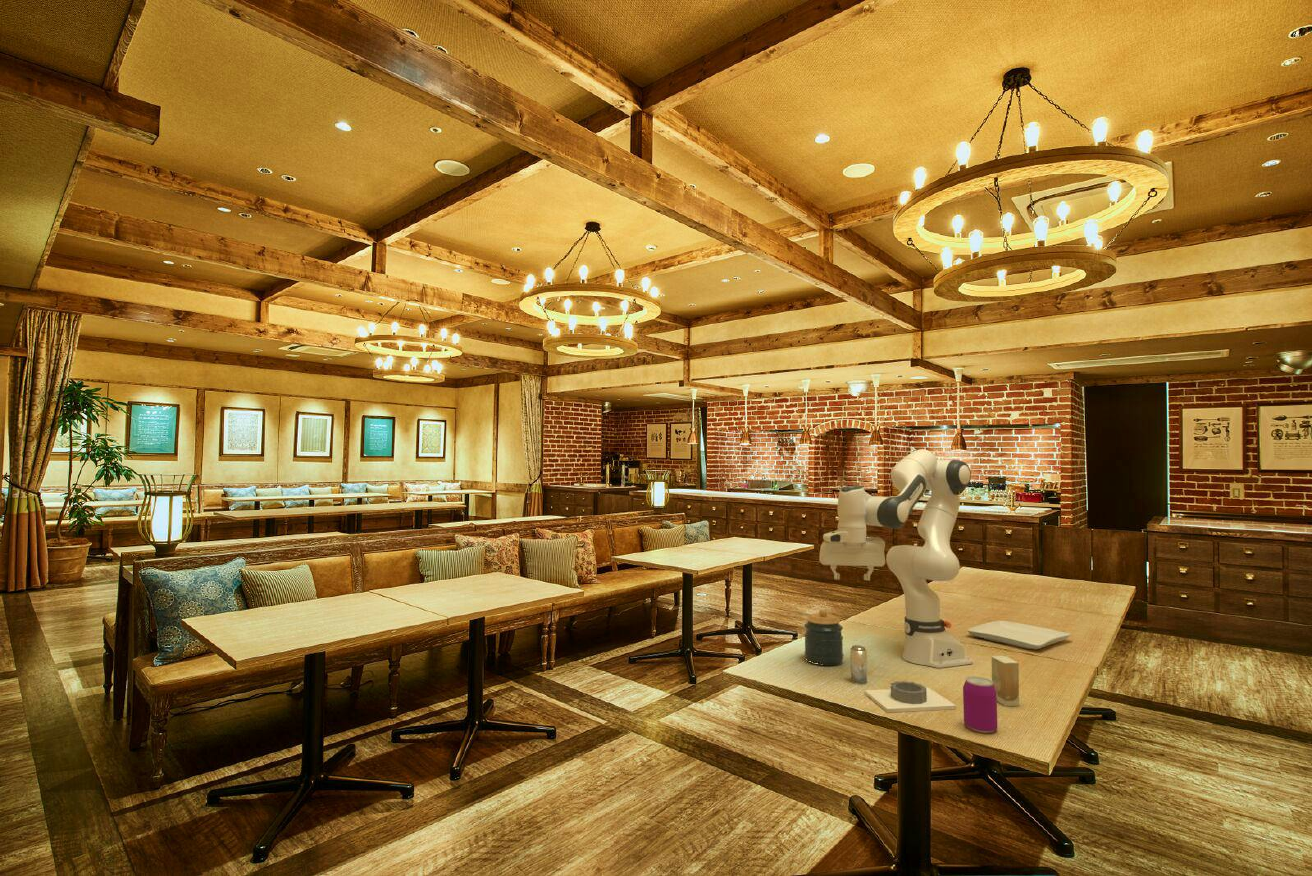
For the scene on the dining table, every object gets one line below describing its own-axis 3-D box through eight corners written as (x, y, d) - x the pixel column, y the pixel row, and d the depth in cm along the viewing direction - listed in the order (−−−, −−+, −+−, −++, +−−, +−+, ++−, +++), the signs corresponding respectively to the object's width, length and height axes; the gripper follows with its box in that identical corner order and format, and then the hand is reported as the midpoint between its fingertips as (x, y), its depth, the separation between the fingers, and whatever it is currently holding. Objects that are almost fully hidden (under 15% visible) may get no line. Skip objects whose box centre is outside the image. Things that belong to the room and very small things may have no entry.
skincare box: (991, 698, 176) (990, 655, 177) (1005, 697, 177) (1004, 655, 177) (1005, 707, 170) (1004, 662, 170) (1020, 706, 170) (1019, 662, 171)
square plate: (1072, 643, 233) (1072, 632, 233) (1039, 655, 217) (1039, 644, 218) (1000, 627, 255) (999, 618, 255) (964, 638, 240) (964, 628, 240)
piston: (862, 678, 193) (862, 644, 193) (869, 684, 188) (869, 649, 189) (848, 679, 192) (847, 645, 193) (855, 684, 188) (854, 649, 188)
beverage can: (993, 737, 151) (992, 688, 151) (960, 728, 156) (958, 681, 157) (1001, 727, 157) (999, 680, 157) (968, 719, 162) (967, 673, 162)
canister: (800, 663, 208) (799, 611, 209) (809, 653, 220) (808, 603, 220) (839, 669, 202) (838, 615, 203) (846, 658, 213) (845, 607, 214)
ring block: (927, 690, 182) (927, 677, 182) (956, 709, 168) (955, 694, 169) (864, 693, 180) (864, 680, 180) (887, 712, 166) (887, 697, 166)
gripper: (882, 536, 198) (882, 578, 197) (818, 534, 200) (818, 577, 199) (887, 538, 192) (888, 582, 191) (822, 536, 193) (822, 580, 193)
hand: (852, 579), depth 195 cm, fingers open, 8 cm apart
